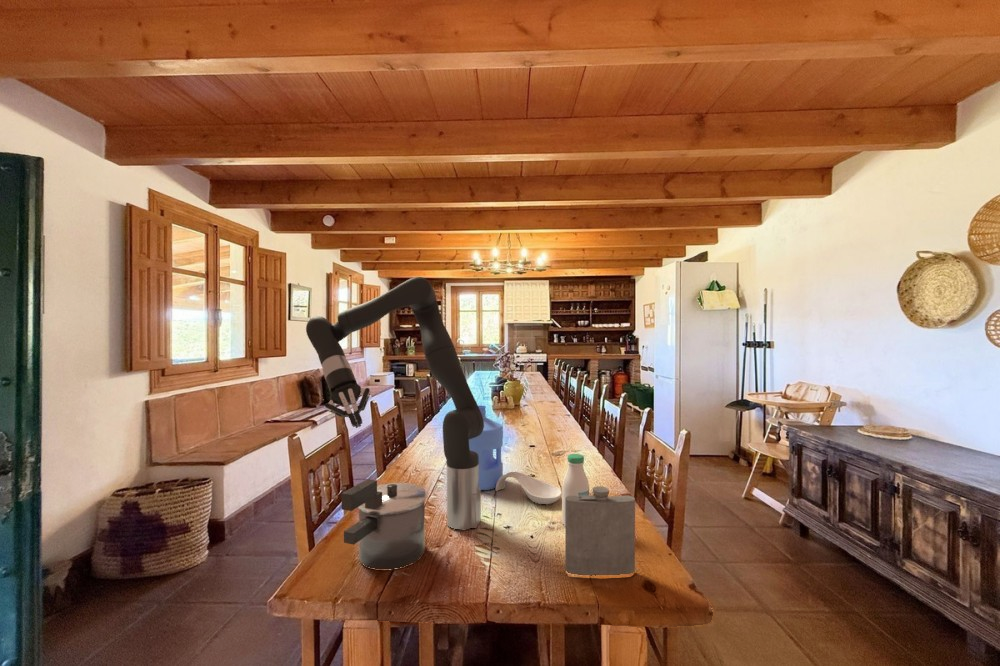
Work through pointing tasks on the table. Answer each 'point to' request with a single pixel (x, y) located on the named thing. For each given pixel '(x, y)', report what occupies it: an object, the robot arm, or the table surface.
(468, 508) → the robot arm
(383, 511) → the pressure cooker lid
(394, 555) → the pressure cooker pot
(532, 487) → the spoon rest
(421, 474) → the table surface
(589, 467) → the table surface
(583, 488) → the milk bottle
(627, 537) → the hip flask
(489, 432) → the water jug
